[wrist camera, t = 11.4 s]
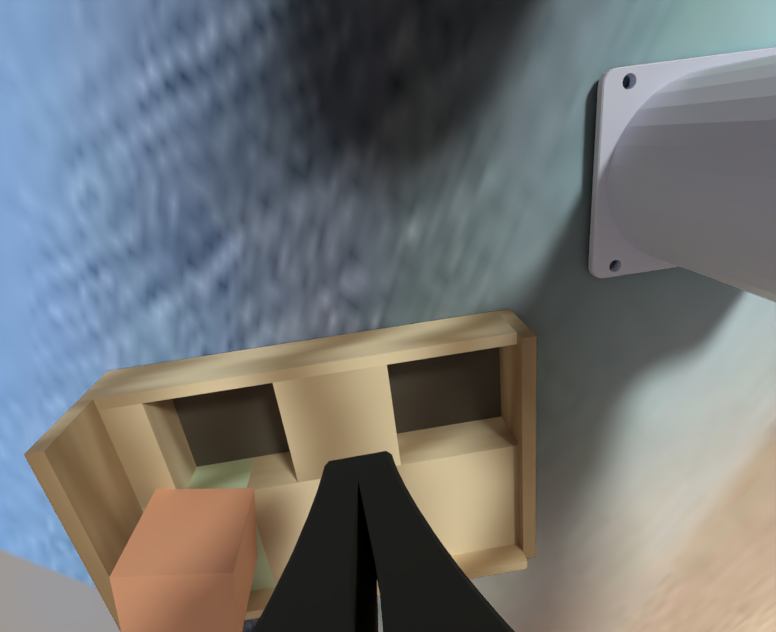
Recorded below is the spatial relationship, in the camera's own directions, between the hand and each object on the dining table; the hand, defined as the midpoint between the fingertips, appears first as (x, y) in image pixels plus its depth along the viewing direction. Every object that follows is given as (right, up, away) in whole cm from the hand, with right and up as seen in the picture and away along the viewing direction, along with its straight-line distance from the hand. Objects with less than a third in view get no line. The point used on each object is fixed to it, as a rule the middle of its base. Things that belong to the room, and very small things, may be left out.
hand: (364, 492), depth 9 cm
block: (-7, -5, +10) cm, 14 cm away
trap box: (-2, -3, +12) cm, 13 cm away
